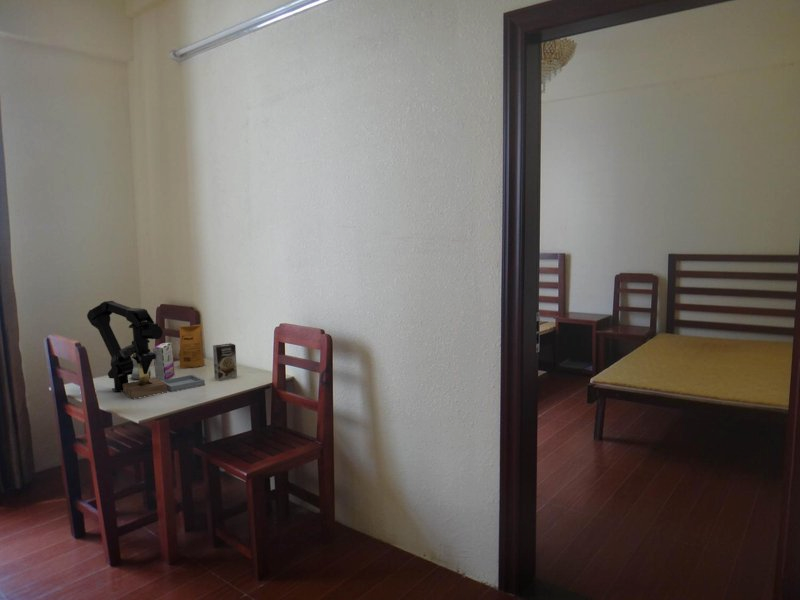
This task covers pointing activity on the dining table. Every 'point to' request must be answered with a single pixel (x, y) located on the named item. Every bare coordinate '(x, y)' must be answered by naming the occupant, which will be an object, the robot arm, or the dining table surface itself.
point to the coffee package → (191, 346)
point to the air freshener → (135, 370)
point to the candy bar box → (163, 361)
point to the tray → (183, 382)
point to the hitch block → (144, 388)
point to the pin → (143, 376)
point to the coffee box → (224, 361)
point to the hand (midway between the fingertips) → (143, 373)
